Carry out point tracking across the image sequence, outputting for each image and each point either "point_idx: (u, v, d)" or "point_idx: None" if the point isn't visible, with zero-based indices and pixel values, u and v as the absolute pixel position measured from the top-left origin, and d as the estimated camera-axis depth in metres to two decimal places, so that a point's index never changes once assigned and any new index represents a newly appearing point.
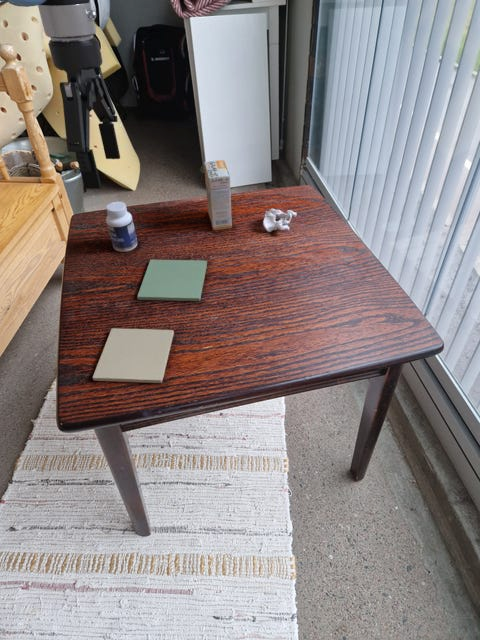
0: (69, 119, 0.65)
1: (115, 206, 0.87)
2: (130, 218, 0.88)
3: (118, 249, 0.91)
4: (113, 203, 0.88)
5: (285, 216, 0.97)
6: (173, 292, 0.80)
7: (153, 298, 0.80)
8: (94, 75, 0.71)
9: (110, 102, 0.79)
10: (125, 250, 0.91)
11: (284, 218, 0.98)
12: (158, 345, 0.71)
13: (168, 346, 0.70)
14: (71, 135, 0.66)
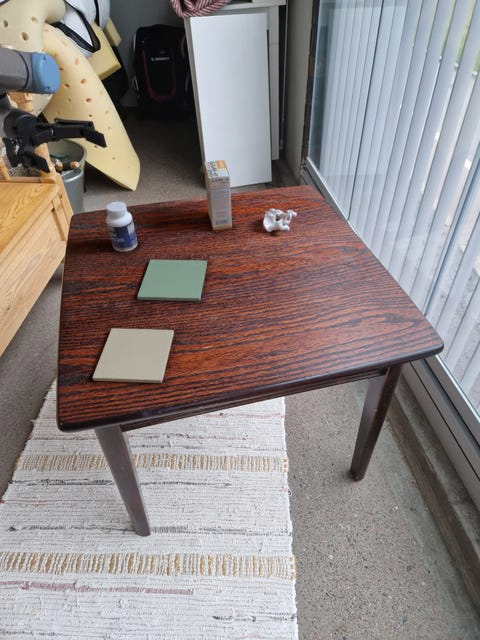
0: None
1: (115, 206, 0.87)
2: (130, 218, 0.88)
3: (118, 249, 0.91)
4: (113, 203, 0.88)
5: (285, 216, 0.97)
6: (173, 292, 0.80)
7: (153, 298, 0.80)
8: None
9: None
10: (125, 250, 0.91)
11: (284, 218, 0.98)
12: (158, 345, 0.71)
13: (168, 346, 0.70)
14: None
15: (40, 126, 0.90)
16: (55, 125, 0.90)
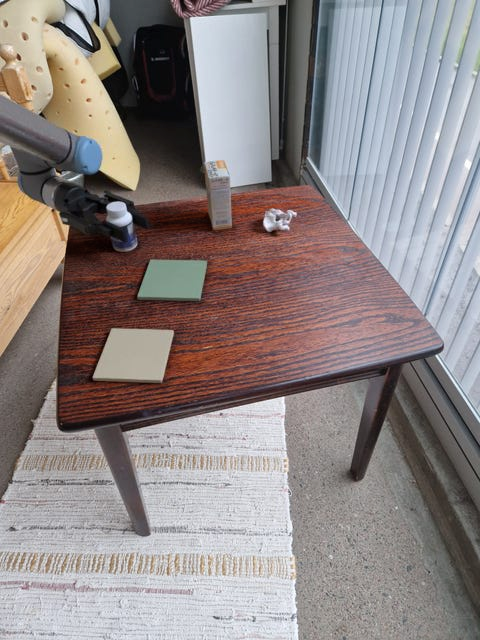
0: None
1: (115, 206, 0.87)
2: (130, 218, 0.88)
3: (118, 249, 0.91)
4: (113, 203, 0.88)
5: (285, 216, 0.97)
6: (173, 292, 0.80)
7: (153, 298, 0.80)
8: None
9: None
10: (125, 250, 0.91)
11: (284, 218, 0.98)
12: (158, 345, 0.71)
13: (168, 346, 0.70)
14: None
15: (89, 199, 0.94)
16: (102, 200, 0.93)
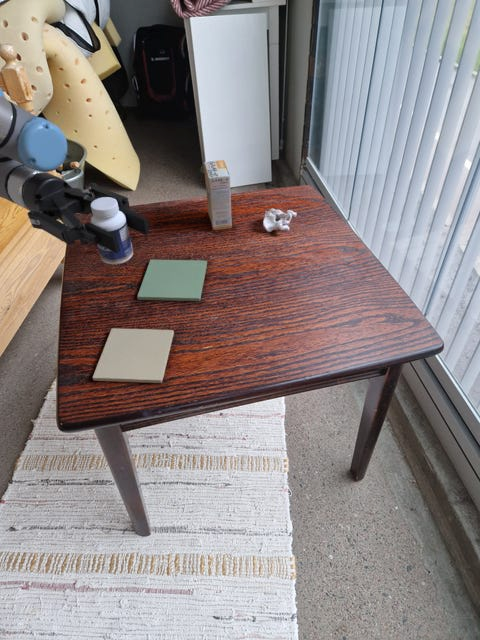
0: None
1: (102, 203, 0.64)
2: (123, 219, 0.65)
3: (107, 261, 0.68)
4: (100, 199, 0.65)
5: (285, 216, 0.97)
6: (173, 292, 0.80)
7: (153, 298, 0.80)
8: (49, 215, 0.71)
9: None
10: (117, 262, 0.68)
11: (284, 218, 0.98)
12: (158, 345, 0.71)
13: (168, 346, 0.70)
14: None
15: (68, 194, 0.71)
16: (85, 196, 0.70)
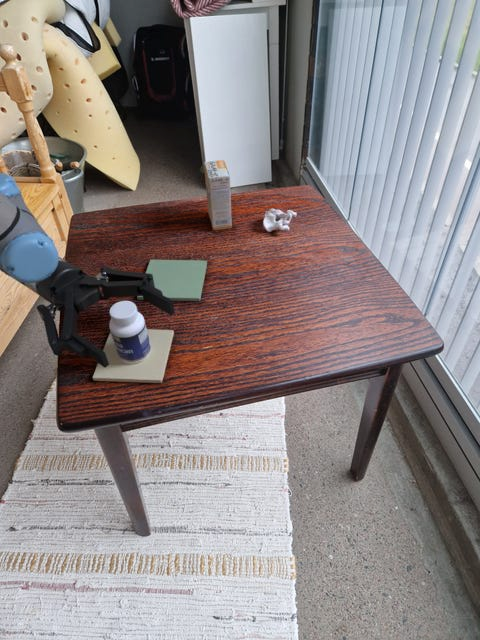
0: None
1: (121, 310, 0.63)
2: (142, 323, 0.64)
3: (125, 361, 0.67)
4: (119, 304, 0.64)
5: (285, 216, 0.97)
6: (173, 292, 0.80)
7: None
8: None
9: None
10: (135, 362, 0.67)
11: (284, 218, 0.98)
12: (158, 345, 0.71)
13: (168, 346, 0.70)
14: None
15: (86, 285, 0.69)
16: (105, 282, 0.70)
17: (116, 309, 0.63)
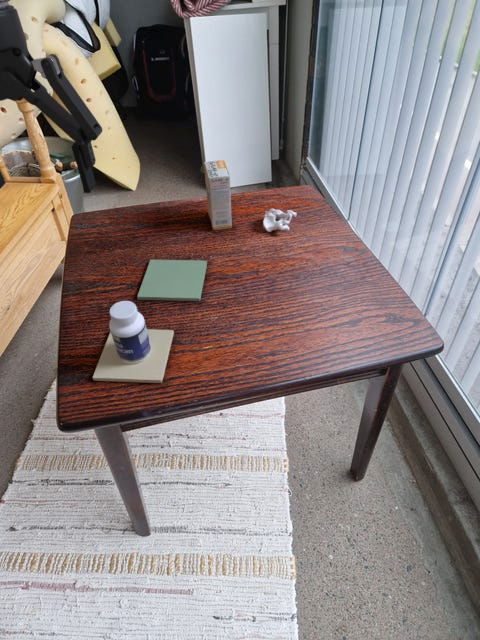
0: (75, 100, 0.52)
1: (121, 310, 0.63)
2: (142, 323, 0.64)
3: (125, 361, 0.67)
4: (119, 304, 0.64)
5: (285, 216, 0.97)
6: (173, 292, 0.80)
7: (153, 298, 0.80)
8: None
9: None
10: (135, 362, 0.67)
11: (284, 218, 0.98)
12: (158, 345, 0.71)
13: (168, 346, 0.70)
14: (88, 118, 0.53)
15: None
16: (35, 101, 0.51)
17: (116, 309, 0.63)
